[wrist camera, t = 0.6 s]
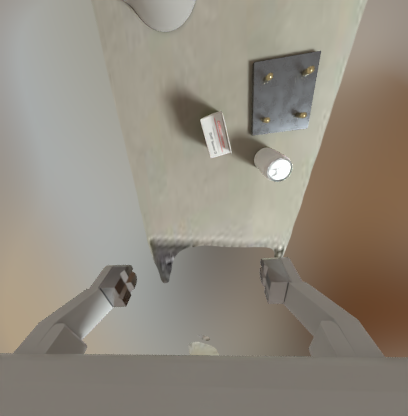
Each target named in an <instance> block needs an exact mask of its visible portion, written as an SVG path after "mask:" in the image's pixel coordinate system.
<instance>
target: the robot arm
mask: <svg viewBox="0 0 408 416" xmlns="http://www.w3.org/2000/svg"><path fill="white" fill-rule="evenodd" d="M123 1H124V2H126V3H128V4H129V5H131V6H132V7H133V9H134V10H135V11H136V13H137V14H138V15H139V17H140V18H141V19H142V20H143V21H144V22H145V23H146V24H147V25H148V26H150V27H151V28H153V29H155V30H157V31H162V32H168V31H172V30H175V29H177V28H178V27H180V26H181V25H182V24H183V23H184V22H185V21H186V20H187V18H188V17H189V15H190V13H191V11H192V9H193V7H194V4H195V0H123ZM260 263H261V266H262V267H261V268H260V278H261V282H262V285H263V286H264V287H265V295H266V298H267V302H268V303H270V304H279V303H280V304H284V305H285V306H286V307H287V308H288V309H289V310H290V312H291V313H292V314H293V315H294V316H295V317H296V318H297V319H298V320H299V321H300V322H301V323H302V324H303V325H304V326H305V328H306V329H307V330H308V331H309V332H310V333H311V334H312V335H313V336H314V338H313V340H312V343H311V345H310V347H309V351H310V353H311V356H312V357H304V356H296V357H295V356H209V355H112V354H111V355H110V354H84V353H85V351H86V349H87V345H86V344H85V343H84V342H83V341H82V339H83V338H84V337H85V336H86V335H87V334H88V333H89V332H90V331H91V330H92V329H93V328H94V327H95V326H96V325H97V324H98V323H99V322H100V321H101V320H102V319H103V318H104V317H105V315H107V313H108V312H109V311H110V310H111V309H112V308H113V307H124V306H127V304H128V301H129V299H130V297H131V293H130V292H131V291H132V290H133V289H134V288H135V286H136V283H137V276H136V274H135V273H134V272H132V270H133V268H132V266H131V265H109V266H106V267H105V268H104V269H103V270H102V272H101V273H100V274H99V276H98V277H97V279H96V280H95V281H94V283H93V284H92V285H91V287H90V288H89V289H86V290H84V291H83V292H82V293H80V294H79V295H77V296H76V297H75V298H73V299H72V300H70V301H69V302H68V303H66V304H65V305H63V306H62V307H61V308H59V309H58V310H56V311H55V312H53V313H52V314H51V315H49V316H48V317H46V318H45V319H44V320H42V321H41V322H39V323H38V325H37V326H36V327H35V328H34V329H33V331H32V332H31V333H30V334H29V335H28V336H27V338H26V339H25V340H24V341H23V342H22V343H21V345H20V346H19V347H18V348H17V349H16V351H15V352H14V353H13V354H11V353H10V354H9V353H6V354H5V353H0V416H408V358H398V357H397V358H396V357H395V358H393V357H392V358H391V357H385V356H384V355H383V354H382V352H381V351H380V350H379V348H378V347H377V345H376V344H375V343H374V341H373V340H372V339H371V337H370V336H369V335H368V333H367V332H366V330H365V329H364V327H363V326H362V325H361V323H360V322H359V321H358V319H356V318H355V317H353V316H352V315H350V314H349V313H348V312H346V311H345V310H344V309H342V308H341V307H340V306H338V305H337V304H335V303H334V302H332V301H331V300H330V299H329V298H327V297H326V296H324V295H323V294H322V293H320V292H319V291H317V290H316V289H315V288H313V287H312V286H311V285H309V284H308V283H306V282H302V280H301V278H300V276H299V275H298V273H297V271H296V269H295V268H294V266H293V264H292V262H291V260H290V259H289V258H288V257H282V258H263V259H261V262H260Z"/></svg>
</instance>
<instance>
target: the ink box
mask: <svg viewBox="0 0 408 416" xmlns="http://www.w3.org/2000/svg"><path fill="white" fill-rule="evenodd" d="M200 121H201V126H202V129H203V133H204V137H205V140H206V144H207V147H208V151H209V154H210V157H211V158H214V157H217V156H221V155H224V154H227V153H230V152H231V147H230V142H229V138H228V133H227V129H226V124H225V120H224V116H223V112H222V111H219V112H216V113H212V114H210V115H207V116H205V117H203V118H201V119H200ZM231 154H232V152H231Z"/></svg>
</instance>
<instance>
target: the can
mask: <svg viewBox="0 0 408 416" xmlns="http://www.w3.org/2000/svg"><path fill="white" fill-rule="evenodd" d="M254 164H255V166H256V167H257V168H258V169H259V170H260V172H261V173H262V174H263V175H264V176H265V177H266V178H267V179H269V180H271V181H274V182H280V181H283V180H285V179H286V178H287V177H288V176H289V175H290V174H291V172H292V163H291V161H290V159H289V158H288V157H287V156H285V155H283V154H281V153H280V152H278V151H276V150H274V149H272V148H262V149H261V150H259V151H258V152H257V153H256V155H255V157H254Z"/></svg>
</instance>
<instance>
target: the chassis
mask: <svg viewBox="0 0 408 416" xmlns="http://www.w3.org/2000/svg"><path fill="white" fill-rule="evenodd" d="M320 54H321V51H317V52H312V53H306V54H300V55H294V56H289V57H283V58H277V59H271V60H266V61H260V62H254V64H253V88H252V135H259V134H267V133H275V132H282V131H290V130H298V129H305V128H308V122H309V117H310V111H311V105H312V100H313V94H314V88H315V82H316V77H317V71H318V65H319V60H320Z"/></svg>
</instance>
